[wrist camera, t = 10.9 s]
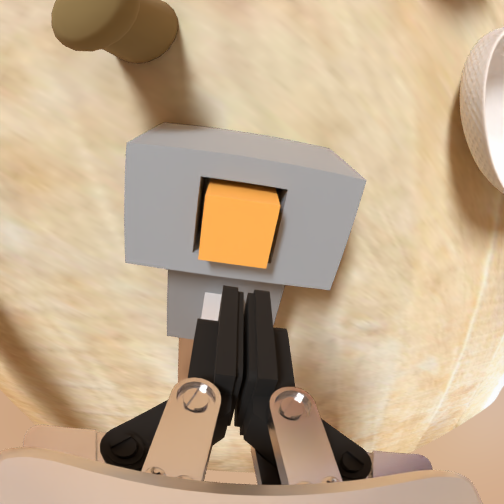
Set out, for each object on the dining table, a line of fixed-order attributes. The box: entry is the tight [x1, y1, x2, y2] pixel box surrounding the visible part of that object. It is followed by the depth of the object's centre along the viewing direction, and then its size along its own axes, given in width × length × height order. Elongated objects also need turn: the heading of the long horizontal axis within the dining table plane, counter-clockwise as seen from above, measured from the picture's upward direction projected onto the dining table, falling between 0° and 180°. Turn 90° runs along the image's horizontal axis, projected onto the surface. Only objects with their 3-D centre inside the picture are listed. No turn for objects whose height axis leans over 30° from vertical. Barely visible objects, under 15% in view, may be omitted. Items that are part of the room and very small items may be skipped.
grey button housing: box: [124, 123, 366, 290], centre depth 23 cm, size 15×8×9 cm, turn 80°
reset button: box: [198, 178, 280, 269], centre depth 19 cm, size 4×4×4 cm
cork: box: [52, 0, 178, 63], centre depth 15 cm, size 6×6×11 cm
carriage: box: [167, 269, 285, 340], centre depth 25 cm, size 9×8×10 cm
